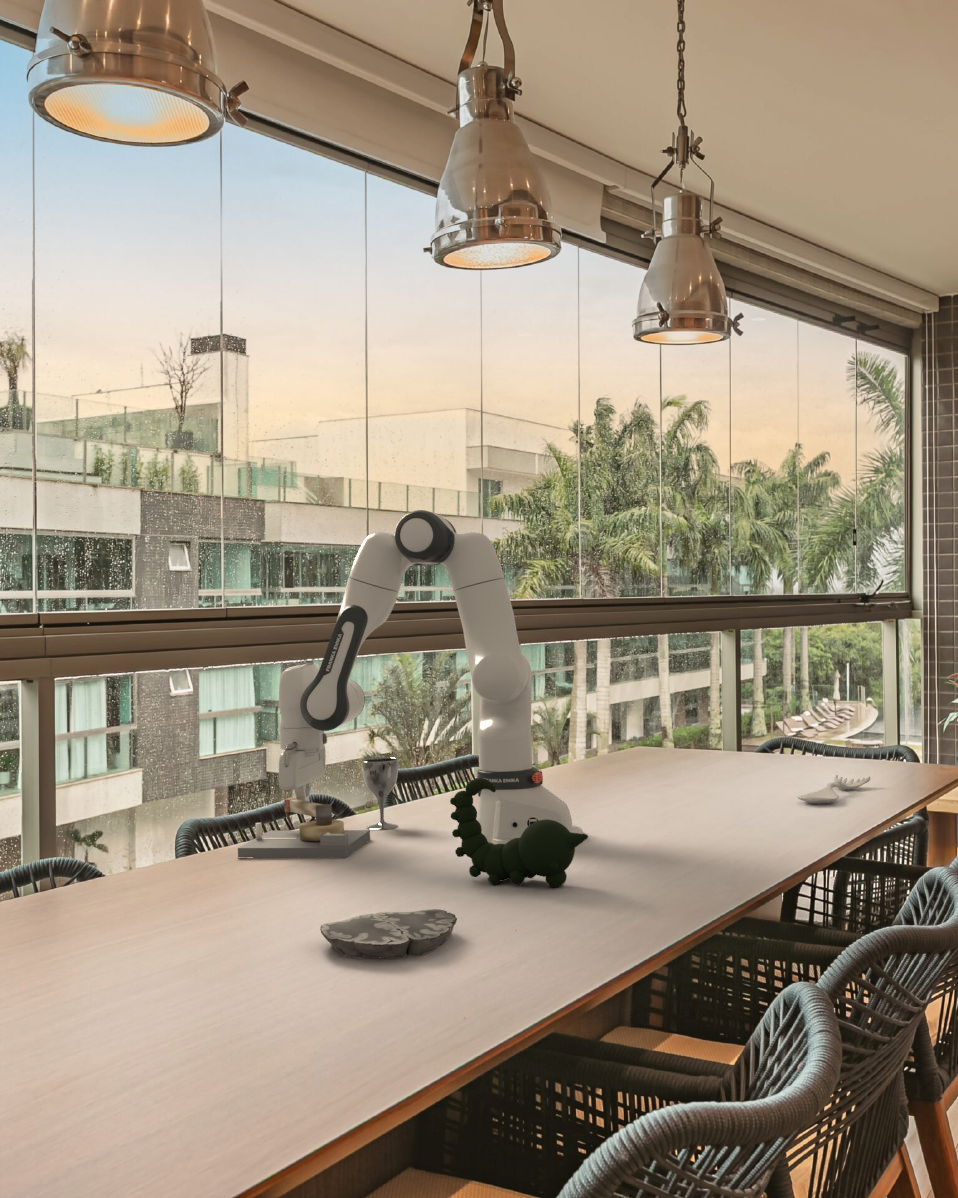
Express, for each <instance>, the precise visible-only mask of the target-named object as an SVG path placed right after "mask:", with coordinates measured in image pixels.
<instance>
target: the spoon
mask: <svg viewBox="0 0 958 1198" xmlns="http://www.w3.org/2000/svg"><path fill="white" fill-rule="evenodd" d="M847 781H848V778H847V777H845V779H844V778H843V776H840V777H839V775H838V774H835V776H834V778H833V782H829V783H828V782H827V784H826V786H825V787H824V788H821V789H818V790H816V791H813V792H810V793H805V794H803V795H799V796H796V798H797V799H798V800H800V801H803V802H806V803H808V804H813V805H825V804H829V803H830V804H831V803H832V802H834V801H837V800H838V799H839V798H840V795H838V793H836V792H835V790H833V788H837V789H839V790H843V791H850V790H851V791H852V790H854V789H857V788H859V787H861V786H864V785H865V784H867V783H869V782H870V781H871V776H870V775H869V776H868V777H866V778H865V777H863V778H861V779H860V778H858V779H857V780H856V781H855V780H854V778H851V779H850V780H849V781H848V782H847ZM854 781H855V782H854Z"/></svg>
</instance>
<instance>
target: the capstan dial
mask: <svg viewBox="0 0 958 1198" xmlns="http://www.w3.org/2000/svg"><path fill="white" fill-rule="evenodd" d="M283 802H284V812H285V813H295V814H300V815H303V816H304V815H305V816H309V817H314V818H315V820H309V821H305V822H301V823H299V825H298V828H299V829H298V830H299V835H300V839H301V840H305V841H320V836H321V835H323V834H326V833H327V832H329V833H330V834H344V830H345V822H344V821H342V820H339V819H338V820H337V819H333V812H332V804H331V803H330V804H328V803H325V804H323V803H318V802H312V801H310V802H308V801H303V800H297V797H291V798H284V799H283Z"/></svg>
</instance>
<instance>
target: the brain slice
mask: <svg viewBox="0 0 958 1198" xmlns="http://www.w3.org/2000/svg"><path fill="white" fill-rule="evenodd" d="M457 920H458V918H457V917H456V914H454V913H452V912H448V911H446V910H443V909H436V908H435V909H433V908H432V909H421V910H415V911H392V912H391V911H386V912H385V911H384V912H383V911H382V912H381V911H380V912H376V913H368V914H367V913H366V914H360V915H358V916H355V917H351V918H347V919H344V920H339V921H338V920H337V921H332V922H328V923H324V924H321V926H320V933H321V935H322V936H323V937H324V938H325V940H326V941H327V942H328V943H330V944H331V945H332V947H333V948H334V949H335V950H336V952H337V953H338V955H340V956H346V957H348V958H365V959H366V958H368V959H369V958H370V959H385V960H390V959H391V960H392V959H393V960H394V959H397V958H399V959H400V958H404V957H406V956H407V955H408V956H422V955H425V954H426V955H427V954H428V953H431V952H434V951H435V950H437V949H438V947H441V946H443V945H444V944H445V942H446V941H447V940H448V938H449V937H450V935H451V934H452V932H453V930H454V928H455V927H454V926H455V925H456V923H457Z"/></svg>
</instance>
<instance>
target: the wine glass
mask: <svg viewBox="0 0 958 1198" xmlns="http://www.w3.org/2000/svg"><path fill="white" fill-rule="evenodd" d="M361 764H362V765H361V767H362V775H363V780H364V783H365V786H366V787H367V788H368V790H369V791H370V792H371V793H372V794H373V796H374V797H375V798H376V800H377V802H378V807H379V815H380V817H379V818H380V819H379V820H380V821H379V822H377V823H375V824H371V825H368V826H369V827H368V826H367V827H368V828H369V829H368V830H370V831H387V830H388V831H389V830H394V829H396V828H399V825H398V824H394V823H389V822H387V821H385V819H384V817H385V816H384V814H385V813H384V812H385V811H384V810H385V803H386V802H385V801H386V799H387V797H388V795H389V794H390V793H391V791H392V790H393V789H394V787H395V785H396V784H397V780H398V775H399V773H398V772H399V759H398V757H391V756H384V757H383V756H379V757H370V758H364V759H362V760H361Z"/></svg>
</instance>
